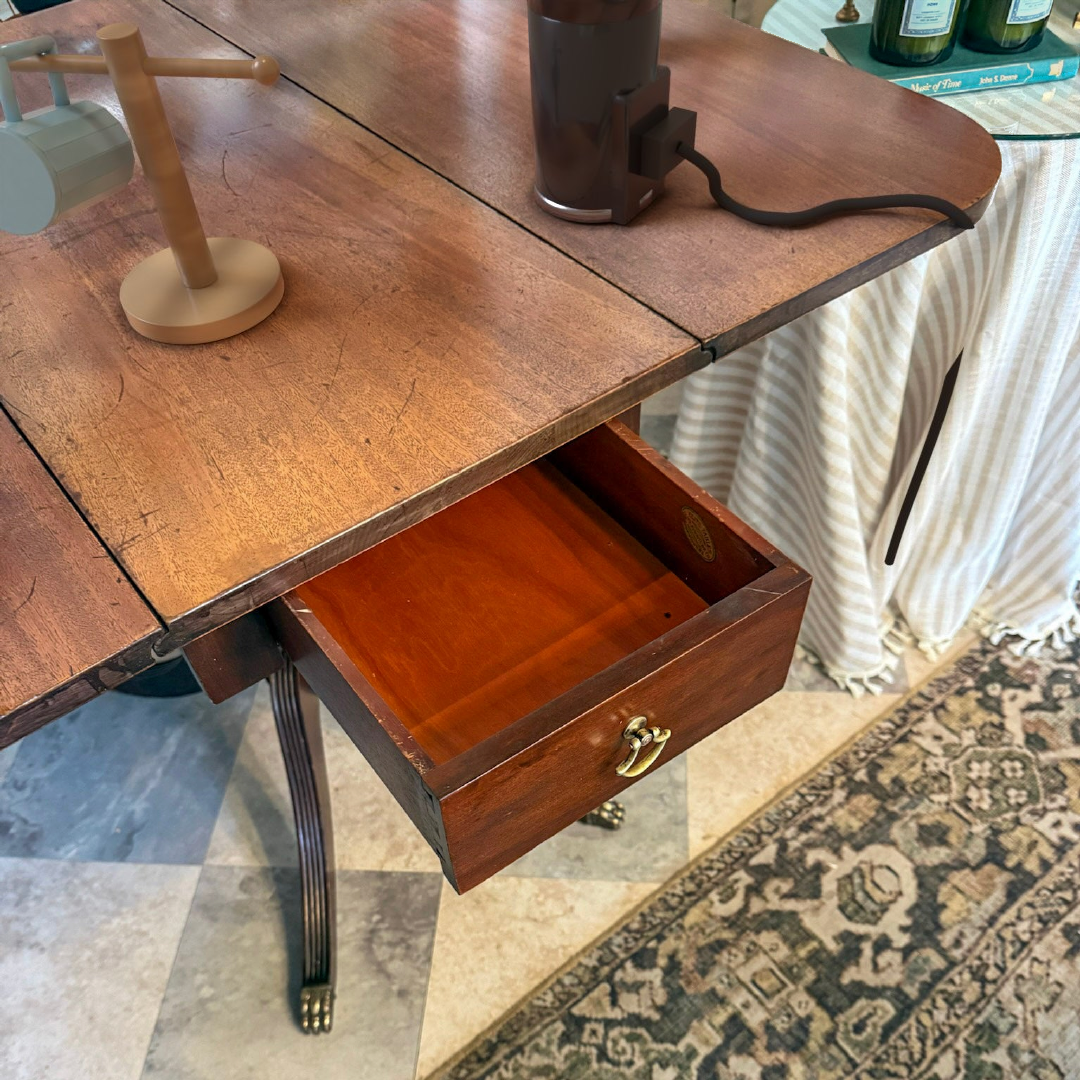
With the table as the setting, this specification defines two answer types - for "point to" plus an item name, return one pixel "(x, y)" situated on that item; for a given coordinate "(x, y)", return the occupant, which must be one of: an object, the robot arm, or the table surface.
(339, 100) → the table surface
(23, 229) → the mug
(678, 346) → the table surface
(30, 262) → the table surface
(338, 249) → the table surface
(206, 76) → the mug tree
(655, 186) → the robot arm
